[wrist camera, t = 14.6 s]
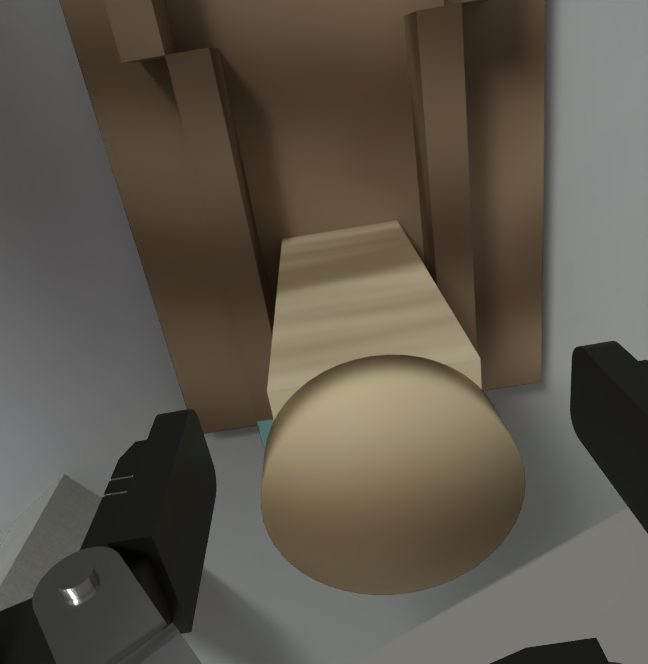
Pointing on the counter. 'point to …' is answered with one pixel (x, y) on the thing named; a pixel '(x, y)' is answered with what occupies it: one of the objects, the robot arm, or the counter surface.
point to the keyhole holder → (320, 163)
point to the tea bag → (44, 538)
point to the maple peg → (379, 422)
